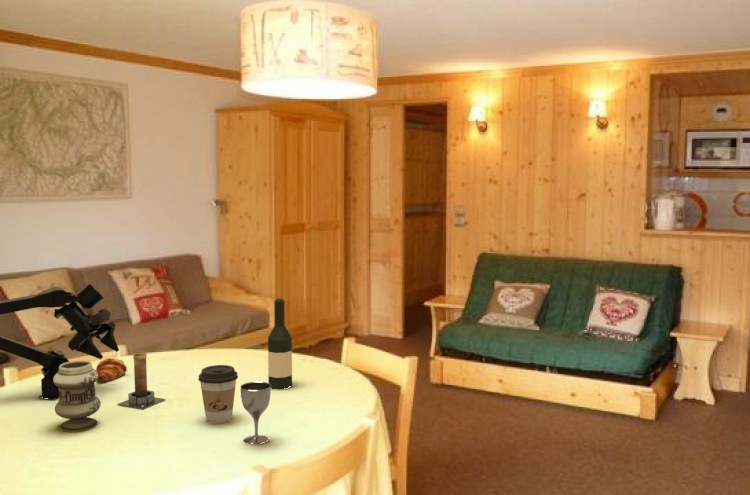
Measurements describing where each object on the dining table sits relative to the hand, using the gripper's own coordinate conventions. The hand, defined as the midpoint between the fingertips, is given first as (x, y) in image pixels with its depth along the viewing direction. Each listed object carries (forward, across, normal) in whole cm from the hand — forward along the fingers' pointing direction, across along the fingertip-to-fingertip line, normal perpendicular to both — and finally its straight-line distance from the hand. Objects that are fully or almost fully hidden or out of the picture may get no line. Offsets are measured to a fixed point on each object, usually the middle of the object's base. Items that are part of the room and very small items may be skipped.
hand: (110, 354), depth 228 cm
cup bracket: (+19, -4, 0) cm, 19 cm away
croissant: (+1, +21, +19) cm, 28 cm away
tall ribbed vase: (+18, -4, 0) cm, 19 cm away
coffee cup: (+40, -13, -20) cm, 47 cm away
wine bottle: (+45, +21, -25) cm, 56 cm away
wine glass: (+52, -26, -32) cm, 66 cm away
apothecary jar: (+14, -26, +6) cm, 30 cm away
